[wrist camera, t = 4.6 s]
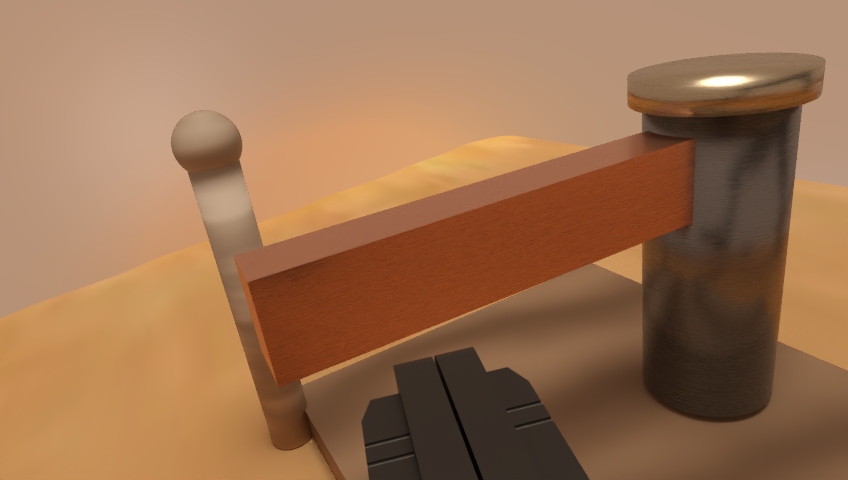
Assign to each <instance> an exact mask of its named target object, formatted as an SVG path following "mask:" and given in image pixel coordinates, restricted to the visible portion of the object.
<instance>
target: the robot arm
mask: <svg viewBox="0 0 848 480" xmlns="http://www.w3.org/2000/svg"><path fill="white" fill-rule="evenodd" d="M434 362H435V363H434ZM393 368H394V373H395V379H396V384H397V389H398V394H393V395H389V396H385V397H381V398H377V399H373V400H370V402H369V405H368V407H367V409H366V412H365V414H364V416H363V419H362V421H361V424H362V431H363V438H364V445H365V453H366V461H367V466H368V475H369V480H590V479H589V478H588V476H587V474H586V473H585V471H584V469H583V468H582V466H581V465H580V463H579V461H578V460H577V458H576V456H575V455H574V453H573V452H572V450H571V448H570V447H569V445H568V444H567V442H566V440H565V439H564V437H563V435H562V434H561V432H560V431H559V429H558V427H557V426H556V424H555V423H554V421H552V420H551V416H550V414H549V413H548V411H547V410H546V408H545V406H544V405H543V404H542V403H541V400H540V398H539V397H538V395H537V393H536V392H535V390H534V389H533V387H532V385H531V384H530V382H529V381H528V380H527V379H525V378H524V377H522V376H521V375H519V374H518V373H516V372H515V371H513V370H511V369H510V368H508V367H505V368H501V369H497V370H493V371H488V372H486V370H485V368H484V366H483V364H482V362H481V360H480V358H479V356H478V354H477V352H476V350H475V349H474V347H469V348H465V349H460V350H456V351H452V352H448V353H443V354H439V355H435V356H434V360H433V358H432V356H431V357H427V358H423V359H418V360H414V361H410V362H406V363H401V364H397V365H393Z"/></svg>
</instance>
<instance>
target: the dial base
mask: <svg viewBox="0 0 848 480" xmlns="http://www.w3.org/2000/svg"><path fill="white" fill-rule="evenodd" d="M171 146H172V151H173V154H174V156H175V158H176V160H177V161H178V163H179V164H180V165H181V166H182V167H183V168H184V169H185V170H187V171H188V174H189V177H190V180H191V184H192V187H193V190H194V193H195V196H196V200H197V203H198V206H199V209H200V212H201V215H202V219H203V222H204V225H205V228H206V231H207V234H208V237H209V241H210V244H211V247H212V250H213V254H214V257H215V260H216V263H217V266H218V270H219V273H220V276H221V279H222V282H223V285H224V289H225V292H226V295H227V298H228V301H229V304H230V308H231V311H232V314H233V317H234V320H235V324H236V327H237V330H238V333H239V336H240V339H241V343H242V346H243V349H244V352H245V355H246V358H247V362H248V365H249V368H250V371H251V374H252V378H253V381H254V384H255V387H256V390H257V393H258V397H259V400H260V403H261V406H262V409H263V412H264V416H265V419H266V422H267V425H268V428H269V432H270V435H271V438H272V441H273V444H274V446H275V447H277V448H278V449H282V450H290V449H294V448H297V447H300V446H302V445H303V444H305V443H306V442H307V441H308V440H309V439H310V438H311V437H312V436H313V438H314V440H315V442H316V443H317V445H318V447H319V449H320V450H321V452H322V454H323V456H324V457H325V459H326V461H327V463H328V464H329V466H330V468H331V470H332V472H333V473H334V475H335V477H336V479H337V480H369V475H368V466H367V461H366V453H365V445H364V438H363V431H362V424H361V421H362V419H363V416H364V414H365V412H366V409H367V407H368V405H369V402H370V400H373V399H377V398H381V397H385V396H389V395H393V394H398V389H397V384H396V379H395V373H394V368H393V365H397V364H401V363H406V362H410V361H414V360H418V359H423V358H427V357H431V356H432V358H433V360H434V356H435V355H439V354H443V353H448V352H452V351H456V350H460V349H465V348H469V347H474V349H475V350H476V352H477V354H478V356H479V358H480V360H481V362H482V364H483V366H484V368H485V370H486V372H488V371H493V370H497V369H501V368H505V367H508V368H510V369H511V370H513V371H515V372H516V373H518V374H519V375H521V376H522V377H524V378H525V379H527V380H528V381H529V382H530V384H531V385H532V387H533V389H534V390H535V392H536V393H537V395H538V397H539V398H540V400H541V403H542V404H543V405H544V406H545V408H546V410H547V411H548V413H549V414H550V416H551V420H552V421H554V423H555V424H556V426H557V427H558V429H559V431H560V432H561V434H562V435H563V437H564V439H565V440H566V442H567V444H568V445H569V447H570V448H571V450H572V452H573V453H574V455H575V456H576V458H577V460H578V461H579V463H580V465H581V466H582V468H583V469H584V471H585V473H586V474H587V476H588V478H589V479H590V480H848V371H847V370H845V369H842V368H840V367H837V366H835V365H833V364H830V363H828V362H826V361H823V360H821V359H818V358H816V357H814V356H811V355H809V354H806V353H804V352H802V351H799V350H797V349H795V348H792V347H790V346H787V345H785V344H783V343H780V342H777V352H776V361H775V371H774V380H773V390H772V395H771V398H770V399H769V401H768V402H767V403H766V404H765V405H764V406H763V407H762V408H760V409H759V410H757V411H755V412H752V413H749V414H747V415H742V416H737V417H726V418H717V417H706V416H700V415H695V414H691V413H687V412H684V411H681V410H679V409H676V408H674V407H672V406H670V405H668V404H666V403H664V402H663V401H661V400H660V399H658V398H657V397H656V396H655V395H654V394H653V393H652V392H651V391H650V390H649V389H648V388H647V386H646V384H645V382H644V380H643V374H642V284H640V283H638V282H635V281H633V280H631V279H628V278H626V277H623V276H621V275H619V274H616V273H614V272H612V271H609V270H607V269H604V268H602V267H600V266H597V265H595V264H593V263H591V264H588V265H586V266H583V267H581V268H578V269H576V270H573V271H571V272H568V273H566V274H563V275H561V276H559V277H556V278H554V279H551V280H549V281H547V282H544V283H542V284H540V285H537V286H535V287H533V288H530V289H528V290H526V291H523V292H521V293H519V294H516V295H514V296H511V297H509V298H507V299H504V300H502V301H500V302H497V303H495V304H493V305H490V306H488V307H486V308H483V309H481V310H479V311H476V312H474V313H471V314H469V315H467V316H464V317H462V318H460V319H457V320H455V321H453V322H450V323H448V324H446V325H443V326H441V327H439V328H436V329H434V330H432V331H429V332H427V333H424V334H422V335H420V336H417V337H415V338H413V339H410V340H408V341H406V342H403V343H401V344H399V345H396V346H394V347H392V348H389V349H387V350H384V351H382V352H380V353H377V354H375V355H373V356H370V357H368V358H366V359H363V360H361V361H359V362H356V363H354V364H352V365H349V366H347V367H344V368H342V369H340V370H337V371H335V372H333V373H330V374H328V375H326V376H323V377H321V378H319V379H316V380H314V381H312V382H309V383H307V384H304V385H301V381H300V379H299V380H297V381H294V382H292V383H289V384H287V385H284V386H282V387H278V385H277V383H276V381H275V379H274V377H273V375H272V372H271V370H270V368H269V366H268V364H267V362H266V360H265V357H264V355H263V353H262V350H261V347H260V344H259V340H258V337H257V334H256V330H255V327H254V324H253V320H252V317H251V314H250V310H249V307H248V304H247V300H246V297H245V294H244V290H243V287H242V284H241V280H240V277H239V274H238V270H237V267H236V264H235V261H234V257H233V256H235V255H238V254H242V253H245V252H248V251H252V250H255V249H258V248H261V247H263V244H262V240H261V237H260V233H259V229H258V226H257V222H256V219H255V215H254V212H253V208H252V205H251V201H250V197H249V193H248V190H247V186H246V183H245V179H244V175H243V172H242V168H241V164H240V161H239V158H240V156H241V152H242V139H241V136H240V133H239V131H238V129H237V128H236V126H235V125H234V124H233V122H232V121H231V120H230V119H228V118H227V117H226V116H224V115H222V114H220V113H217V112H214V111H209V110H200V111H195V112H192V113H190V114H188V115H186V116H185V117H183V118H182V119H181V120H180V121H179V122H178V123H177V125H176V127H175V128H174V130H173V133H172V137H171ZM434 363H435V362H434Z"/></svg>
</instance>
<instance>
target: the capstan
mask: <svg viewBox="0 0 848 480" xmlns="http://www.w3.org/2000/svg"><path fill="white" fill-rule="evenodd" d="M825 62H826V61H825V59H824V58H822V57H819V56H815V55H809V54H799V53H746V54H731V55H719V56H710V57H700V58H692V59H685V60H678V61H672V62H667V63H662V64H657V65H653V66H649V67H645V68H642V69H639V70H636V71H634V72H632V73H630V74H629V75H628V77H627V83H628V85H627V87H628V89H627V91H628V107H629V108H630V109H632V110H634V111H637V112H641V113H642V133H639V134H635V135H632V136H629V137H625V138H622V139H619V140H615V141H612V142H609V143H606V144H602V145H599V146H596V147H592V148H589V149H586V150H582V151H579V152H576V153H572V154H569V155H566V156H563V157H559V158H556V159H553V160H549V161H546V162H543V163H539V164H536V165H533V166H529V167H526V168H523V169H519V170H516V171H513V172H510V173H506V174H503V175H500V176H496V177H493V178H490V179H486V180H483V181H480V182H476V183H473V184H470V185H467V186H463V187H460V188H457V189H453V190H450V191H447V192H443V193H440V194H437V195H433V196H430V197H427V198H424V199H420V200H417V201H414V202H410V203H407V204H404V205H400V206H397V207H394V208H390V209H387V210H384V211H381V212H377V213H374V214H371V215H367V216H364V217H361V218H357V219H354V220H351V221H347V222H344V223H341V224H338V225H334V226H331V227H328V228H324V229H321V230H318V231H314V232H311V233H308V234H304V235H301V236H298V237H295V238H291V239H288V240H285V241H281V242H278V243H275V244H271V245H268V246H265V247H261V248H258V249H255V250H252V251H248V252H245V253H242V254H238V255H235V256H233V257H234V261H235V264H236V267H237V270H238V274H239V277H240V280H241V284H242V287H243V290H244V294H245V297H246V300H247V304H248V307H249V310H250V314H251V317H252V320H253V324H254V327H255V330H256V334H257V337H258V340H259V344H260V347H261V350H262V353H263V355H264V357H265V360H266V362H267V364H268V366H269V368H270V370H271V372H272V375H273V377H274V379H275V381H276V383H277V385H278V387H282V386H284V385H287V384H289V383H292V382H294V381H297V380H299V379H302V378H304V377H307V376H309V375H312V374H314V373H317V372H319V371H322V370H324V369H327V368H329V367H332V366H335V365H337V364H340V363H342V362H345V361H347V360H350V359H352V358H355V357H357V356H360V355H362V354H365V353H367V352H370V351H372V350H375V349H377V348H380V347H382V346H385V345H387V344H390V343H392V342H395V341H397V340H400V339H402V338H405V337H407V336H410V335H412V334H415V333H417V332H420V331H422V330H425V329H427V328H430V327H432V326H435V325H437V324H440V323H443V322H445V321H448V320H450V319H453V318H455V317H458V316H460V315H463V314H465V313H468V312H470V311H473V310H475V309H478V308H480V307H483V306H485V305H488V304H490V303H493V302H495V301H498V300H500V299H503V298H505V297H508V296H510V295H513V294H515V293H518V292H520V291H523V290H525V289H528V288H530V287H533V286H535V285H538V284H540V283H543V282H545V281H548V280H551V279H553V278H556V277H558V276H561V275H563V274H566V273H568V272H571V271H573V270H576V269H578V268H581V267H583V266H586V265H588V264H591V263H593V262H596V261H598V260H601V259H603V258H606V257H608V256H611V255H613V254H616V253H618V252H621V251H623V250H626V249H628V248H631V247H633V246H636V245H638V244H641V243H642V374H643V380H644V382H645V384H646V386H647V388H648V389H649V390H650V391H651V392H652V393H653V394H654V395H655V396H656V397H657V398H658V399H660V400H661V401H663V402H664V403H666V404H668V405H670V406H672V407H674V408H676V409H679V410H681V411H684V412H687V413H691V414H695V415H700V416H706V417H717V418H726V417H737V416H742V415H747V414H749V413H752V412H755V411H757V410H759V409H760V408H762V407H763V406H764V405H765V404H766V403H767V402H768V401H769V399H770V398H771V395H772V390H773V380H774V371H775V361H776V352H777V342H778V332H779V323H780V313H781V304H782V294H783V284H784V275H785V265H786V256H787V246H788V236H789V227H790V217H791V208H792V198H793V189H794V179H795V169H796V160H797V150H798V141H799V131H800V121H801V112H802V104H805V103H808V102H811V101H813V100H815V99H817V98H818V97H820V96H821V94H822V88H823V79H824V71H825Z"/></svg>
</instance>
